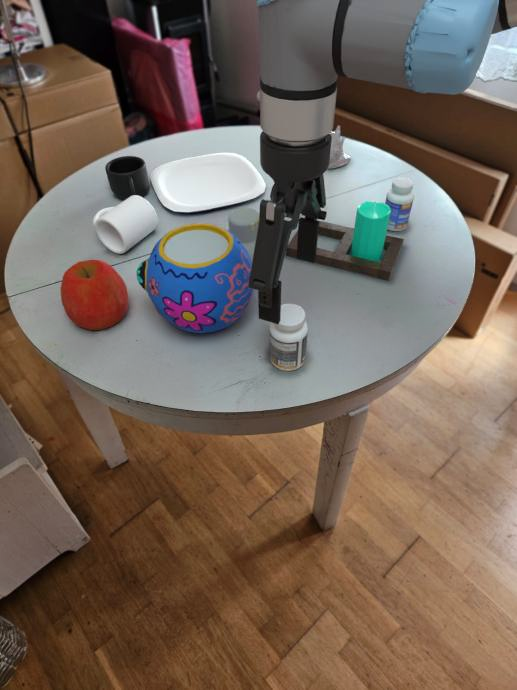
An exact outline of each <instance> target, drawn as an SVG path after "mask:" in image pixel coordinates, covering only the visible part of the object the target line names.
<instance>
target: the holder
mask: <svg viewBox="0 0 517 690" xmlns="http://www.w3.org/2000/svg"><path fill="white" fill-rule="evenodd" d="M317 221H319V230H318V236H322V237H327V238H331V239H336V240H340V242H339V243H338V245H337V247H336V249H335V250H334V251H333V250H328V249H325V248H321V247H317V251H316V260H315V262H314V264H319V265H324V266H327V267H332V268H335V269H339V270H343V271H348V272H352V273H355V274H359V275H360V274H361V275H363V276H364V275H365V276H368V277H373V278H375V279H380V280H384V281H390V279H391V276H392V274H393V271H394V269H395V267H396V264H397V262H398V258H399V256H400V254H401V251H402V249H403V245H404V241H405V238H401V237H396V236H392V235H387V234H386V237H385V242H384V246H383V250H384V251H386V252H385V255H384V257H383V259H382V261H381V262H380V261H379V262H376V261H371V260H367V259H363V258H359V257H354V256H351V255H350V253H351V247H352V240H353V233H354V227H352V226H351V227H350V226H347V225H342V224H338V223H337V224H336V223H332V222H328V221H325V220H320V219H317ZM297 240H298V230H296V232H295V234H294V235H293V237H292V238H291V240H289V243H288V246H287V250H286V254H285V256H287V257H291V258H295V259H296V258H297Z"/></svg>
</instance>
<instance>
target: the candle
mask: <svg viewBox="0 0 517 690" xmlns="http://www.w3.org/2000/svg"><path fill="white" fill-rule="evenodd" d="M390 213H391V210H390V207H389V206H388V205H386V204H385V202H377V201H369V200H366V201H364V202H363V203H360V204H359V205H358V206H357V208H356V215H355V219H354V227H353V228H354V233H353V240H352V247H351V251H350V253H349V255H350V256H354V257H359V258H363V259H367V260H371V261H376V262H380V261H381V260H382V255H383V252H384V251H383V246H384V242H385V237H386V235H387V232H388V230H387V227H388V223H389V218H390Z"/></svg>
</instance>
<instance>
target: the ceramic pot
mask: <svg viewBox="0 0 517 690" xmlns="http://www.w3.org/2000/svg"><path fill="white" fill-rule="evenodd" d="M228 230H229V229H225V228H224V227H221V226H218V225H216V224H210V223H191V224H185V225H181V226H179V227H176V228H173V229H172V230H170V231H168V232H167V233H165V234H164V235H163V236H162V237H161V238H160V239H159V240H158V241H157V242H156V243H155V244H154V246H153V248H152V251H151V252H150V254H149V257H148V258H147V259H145V260H143V261H142V262H140V264H139V265H138V267H137V269H136V280H137V282H138V284H139V286H141V288H142V289H143V290H144V291H146V293H147V295H148V297H149V299H150V300H151V303H152V304H153V306H154V309H155V310H156V312H158V314H159V315H160V316H161V317H162V318H164V319H165V320H166V321H168V322H169V323H171V325H173V326H174V327H176V328H177V329H179V330H181V331H185V332H187V333H193V334H194V333H195V334H205V333H207V334H208V333H213V332H217V331H220V330H222V329H225V328H228V327H229V326H231V325H232V324H234V323H235V322H236V321H237V320H239V318H241V316H242V315H243V313H245V311H246V309H247V308H248V306H249V304H250V302H251V299H252V297H253V294H254V290H255V289H252V288H249V276H250V273H251V267H252V261H251V258H250V255H249V253H248V251H247V250H246V248H245V247H244V246H243V244H242V243H241V242H240V241H239V239H238V238H237V237H236V236H235V235H234V234H232V233H231V232H229V231H228Z"/></svg>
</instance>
